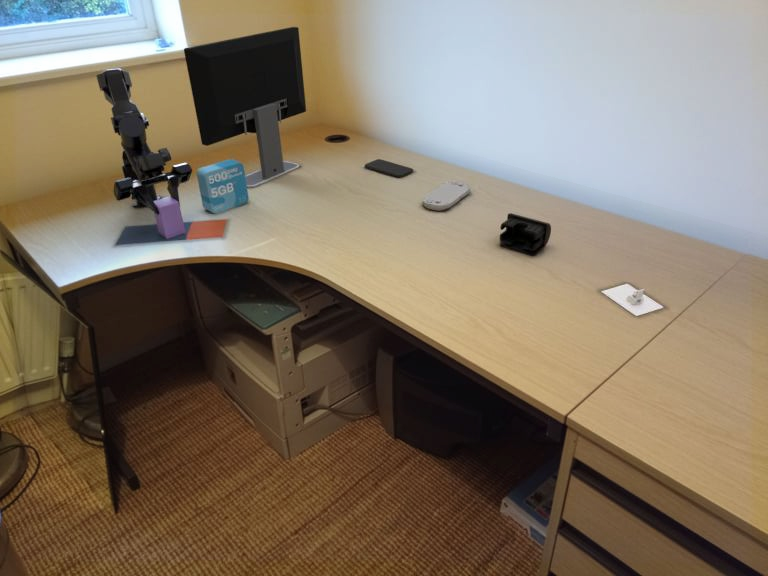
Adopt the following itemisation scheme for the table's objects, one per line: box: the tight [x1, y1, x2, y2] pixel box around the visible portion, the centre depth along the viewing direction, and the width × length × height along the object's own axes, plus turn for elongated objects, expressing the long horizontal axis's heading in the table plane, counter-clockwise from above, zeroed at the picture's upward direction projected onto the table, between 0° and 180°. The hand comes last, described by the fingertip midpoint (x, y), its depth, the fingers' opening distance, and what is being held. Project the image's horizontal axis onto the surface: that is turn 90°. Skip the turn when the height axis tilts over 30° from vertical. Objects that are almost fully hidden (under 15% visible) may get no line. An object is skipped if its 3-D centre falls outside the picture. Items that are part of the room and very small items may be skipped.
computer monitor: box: [183, 26, 307, 188], centre depth 173 cm, size 41×8×40 cm, turn 144°
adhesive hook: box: [625, 288, 645, 305], centre depth 117 cm, size 3×3×3 cm
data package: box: [196, 158, 249, 214], centre depth 160 cm, size 12×4×12 cm, turn 135°
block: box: [153, 195, 186, 239], centre depth 147 cm, size 5×5×8 cm
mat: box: [114, 218, 228, 246], centre depth 150 cm, size 26×10×1 cm, turn 97°
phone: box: [364, 158, 414, 178], centre depth 184 cm, size 7×1×15 cm
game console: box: [422, 180, 471, 212], centre depth 163 cm, size 18×2×8 cm
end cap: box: [499, 212, 552, 257], centre depth 138 cm, size 10×7×7 cm
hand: (168, 210), depth 145 cm, fingers closed on block, 5 cm apart
